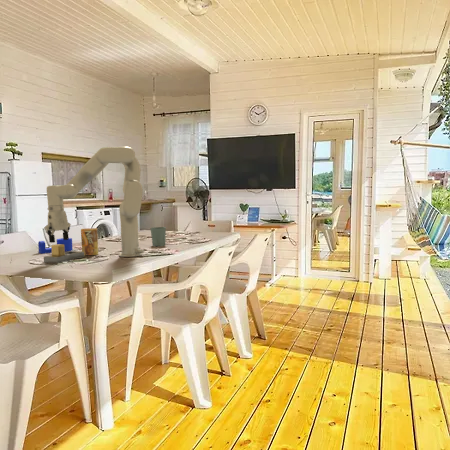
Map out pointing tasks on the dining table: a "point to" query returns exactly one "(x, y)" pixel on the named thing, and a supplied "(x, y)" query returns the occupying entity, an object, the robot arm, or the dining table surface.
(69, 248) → the bracket
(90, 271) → the dining table surface
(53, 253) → the tan shipping carton
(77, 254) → the grey flat frame
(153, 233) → the green cup
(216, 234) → the dining table surface
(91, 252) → the candy box
